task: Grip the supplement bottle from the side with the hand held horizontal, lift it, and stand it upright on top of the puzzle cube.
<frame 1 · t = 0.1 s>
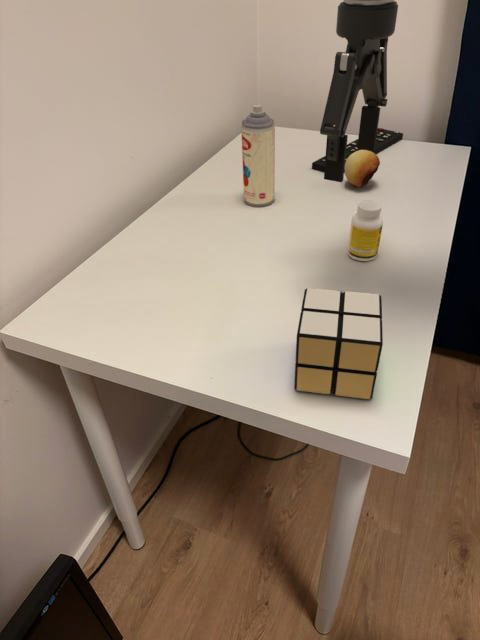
hand: (350, 163, 75), 19 cm above the table, tool pointing down, fingers open, 13 cm apart
aerosol can: (259, 201, 108), on the table
remote control: (359, 153, 127), on the table
fruit: (359, 186, 112), on the table
puzzle cube: (334, 370, 67), on the table
supplement bottle: (362, 255, 89), on the table
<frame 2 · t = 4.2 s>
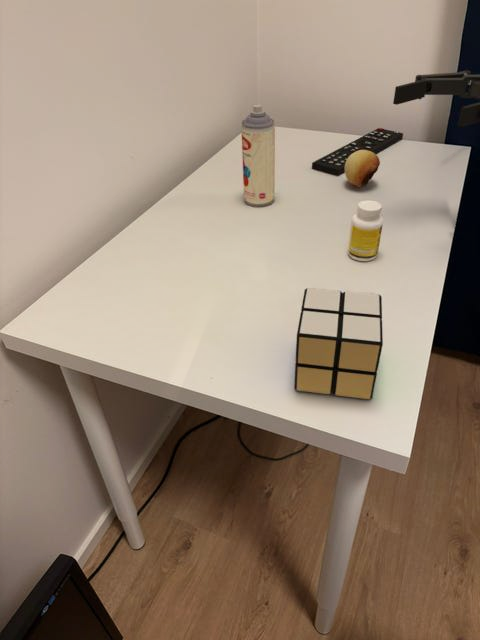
hand: (426, 105, 76), 25 cm above the table, tool horizontal, fingers open, 13 cm apart
nothing on the table moved.
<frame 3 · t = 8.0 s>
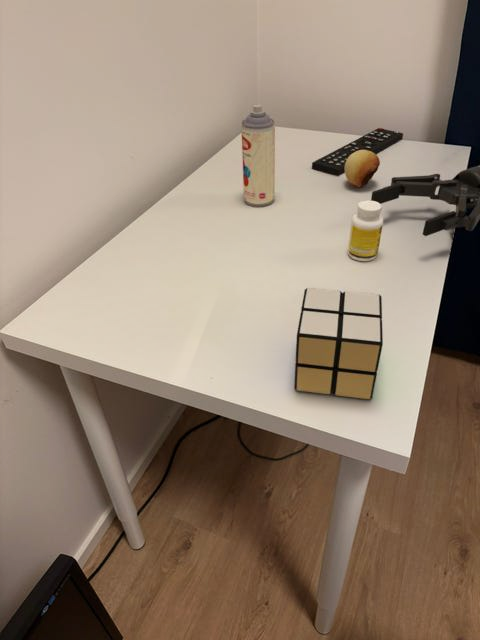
hand: (397, 213, 88), 6 cm above the table, tool horizontal, fingers open, 13 cm apart
nothing on the table moved.
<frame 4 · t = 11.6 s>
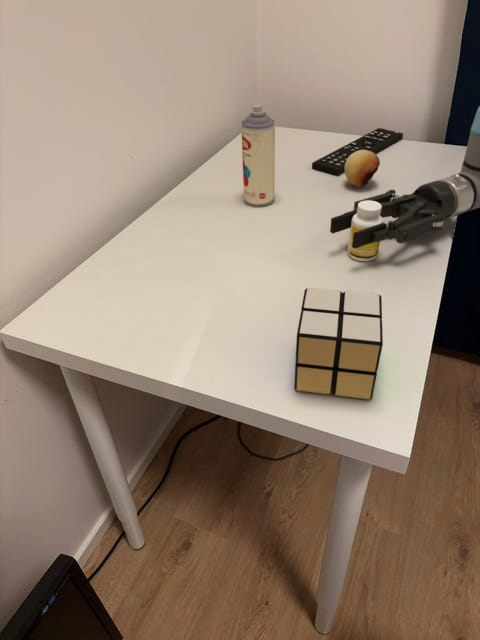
hand: (343, 233, 83), 6 cm above the table, tool horizontal, fingers closed on supplement bottle, 5 cm apart
supplement bottle: (362, 255, 89), on the table, touching gripper
everything else where it was.
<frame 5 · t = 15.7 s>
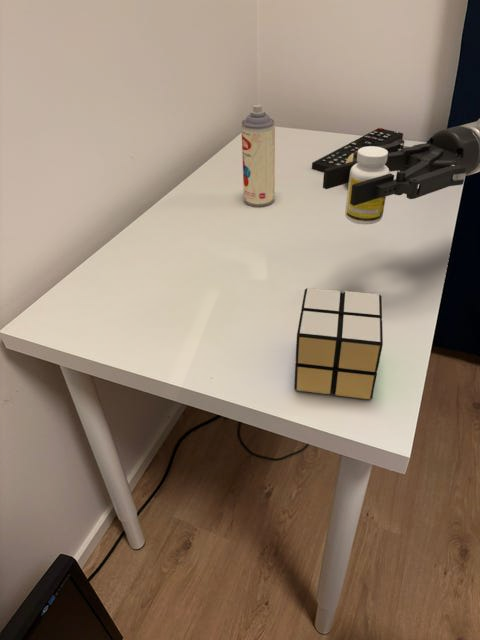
hand: (338, 187, 66), 20 cm above the table, tool horizontal, fingers closed on supplement bottle, 5 cm apart
supplement bottle: (363, 218, 72), point 14 cm above the table, touching gripper
everything else where it was.
when the fingers open (16 cm above the table, at t = 20.1 s): supplement bottle stays where it is, resting on puzzle cube.
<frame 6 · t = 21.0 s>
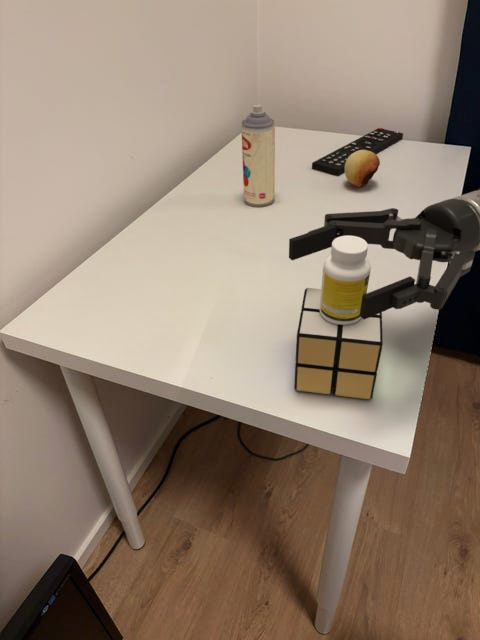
hand: (323, 276, 55), 17 cm above the table, tool horizontal, fingers open, 13 cm apart
puzzle cube: (334, 370, 67), on the table, touching supplement bottle
supplement bottle: (341, 313, 60), point 10 cm above the table, touching puzzle cube
everything else where it was.
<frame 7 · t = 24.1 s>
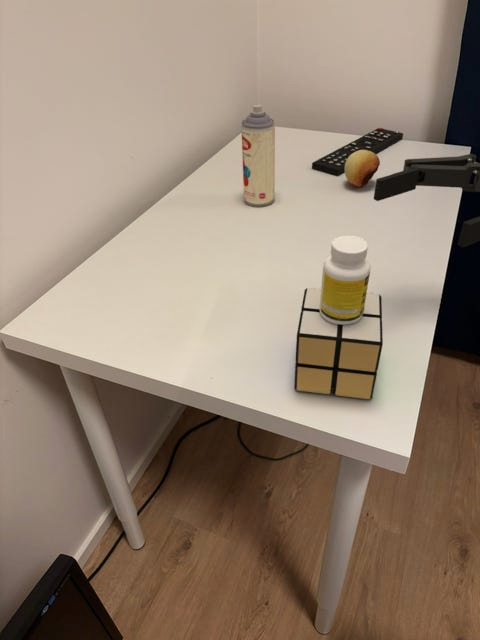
hand: (416, 210, 56), 21 cm above the table, tool horizontal, fingers open, 13 cm apart
nothing on the table moved.
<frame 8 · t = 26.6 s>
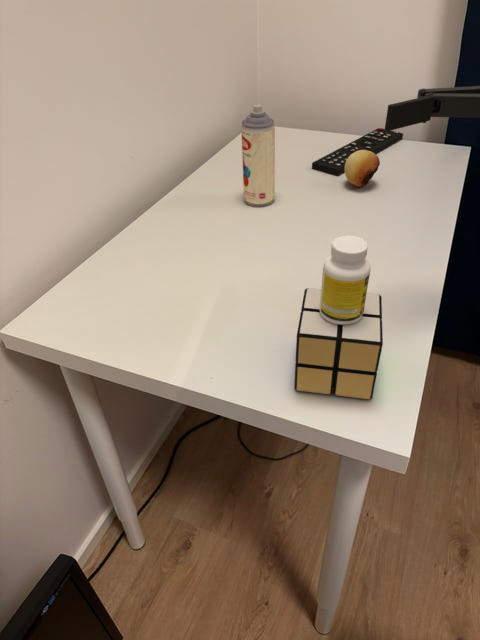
hand: (432, 134, 51), 30 cm above the table, tool horizontal, fingers open, 13 cm apart
nothing on the table moved.
at the end: supplement bottle 0.0 cm off-centre on the puzzle cube, point 10.0 cm above the puzzle cube's base; supplement bottle tilted 0°; the gripper is holding nothing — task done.
